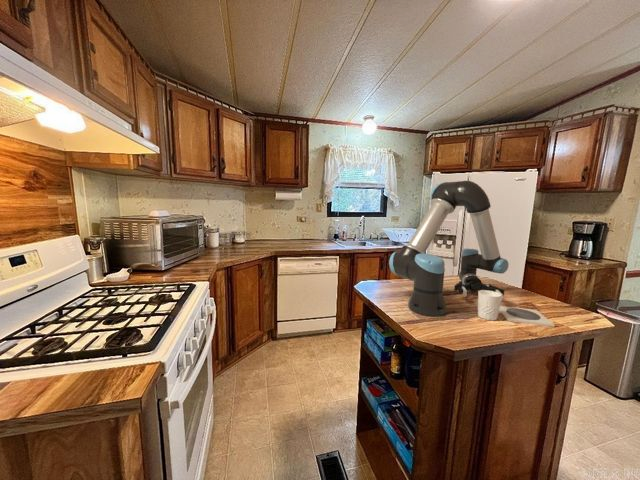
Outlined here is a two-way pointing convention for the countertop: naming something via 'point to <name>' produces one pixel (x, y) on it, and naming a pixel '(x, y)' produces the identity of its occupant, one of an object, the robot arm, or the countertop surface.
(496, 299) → the white cup
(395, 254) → the robot arm
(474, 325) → the countertop surface
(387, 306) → the countertop surface
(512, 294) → the countertop surface
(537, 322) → the trivet
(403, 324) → the countertop surface
